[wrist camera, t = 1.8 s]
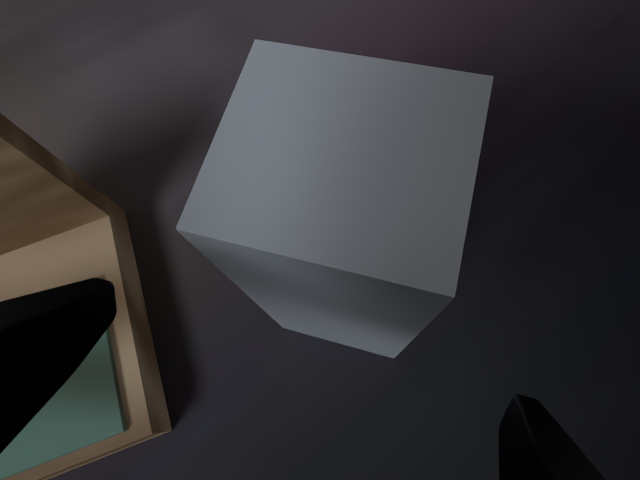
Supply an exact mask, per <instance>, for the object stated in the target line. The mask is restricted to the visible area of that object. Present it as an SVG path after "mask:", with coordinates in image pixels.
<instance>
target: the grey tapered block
mask: <svg viewBox="0 0 640 480" xmlns="http://www.w3.org/2000/svg"><path fill="white" fill-rule="evenodd" d="M493 77H494V76H489V75H482V74H476V73H469V72H463V71H456V70H450V69H444V68H437V67H431V66H424V65H418V64H411V63H405V62H398V61H392V60H385V59H379V58H373V57H366V56H360V55H353V54H347V53H340V52H334V51H327V50H321V49H314V48H308V47H301V46H295V45H289V44H282V43H276V42H269V41H263V40H256V39H255V41H254V43H253V46H252V48H251V51H250V53H249V55H248V58H247V60H246V63H245V65H244V67H243V70H242V72H241V74H240V77H239V79H238V82H237V84H236V86H235V89H234V91H233V93H232V96H231V98H230V101H229V103H228V105H227V108H226V110H225V113H224V115H223V117H222V120H221V122H220V124H219V127H218V129H217V132H216V134H215V136H214V139H213V141H212V143H211V146H210V148H209V151H208V153H207V155H206V158H205V160H204V162H203V165H202V167H201V170H200V172H199V174H198V177H197V179H196V182H195V184H194V186H193V189H192V191H191V193H190V196H189V198H188V201H187V203H186V205H185V208H184V210H183V212H182V215H181V217H180V220H179V222H178V224H177V227H176V230H177V231H178V232H179V233H180V234H181V235H182V236H184V237H185V238H186V239H187V240H188V241H189V242H190V243H191V244H192V245H193V246H194V247H196V248H197V249H198V250H199V251H200V252H201V253H202V254H203V255H204V256H205V257H206V258H208V259H209V260H210V261H211V262H212V263H213V264H214V265H215V266H216V267H217V268H218V269H220V270H221V271H222V272H223V273H224V274H225V275H226V276H227V277H228V278H229V279H230V280H231V281H233V282H234V283H235V284H236V285H237V286H238V287H239V288H240V289H241V290H242V291H243V292H245V293H246V294H247V295H248V296H249V297H250V298H251V299H252V300H253V301H254V302H255V303H257V304H258V305H259V306H260V307H261V308H262V309H263V310H264V311H265V312H266V313H267V314H269V315H270V316H271V317H272V318H273V319H274V320H275V321H276V322H277V323H278V324H279V325H281V326H282V327H283V328H286V329H289V330H293V331H296V332H300V333H304V334H307V335H311V336H314V337H318V338H322V339H325V340H329V341H333V342H336V343H340V344H343V345H347V346H351V347H354V348H358V349H361V350H365V351H369V352H372V353H376V354H380V355H383V356H387V357H390V358H395V357H396V356H397V355H398V354H399V353H400V352H401V351H402V350H403V349H404V348H405V347H406V346H407V345H408V344H409V343H410V342H411V341H412V340H413V339H414V338H415V337H416V336H417V335H418V334H419V333H420V332H421V331H422V330H423V329H424V328H425V327H426V326H427V325H428V324H429V323H430V322H431V321H432V320H433V319H434V318H435V317H436V316H437V315H438V314H439V313H440V312H441V311H442V310H443V309H444V308H445V307H446V306H447V305H448V304H449V303H450V302H451V301H452V300H453V299H454V298H455V293H456V287H457V281H458V276H459V270H460V264H461V259H462V253H463V247H464V242H465V236H466V230H467V225H468V219H469V213H470V208H471V202H472V196H473V191H474V185H475V179H476V174H477V168H478V162H479V157H480V151H481V145H482V139H483V134H484V128H485V122H486V117H487V111H488V105H489V100H490V94H491V88H492V83H493Z"/></svg>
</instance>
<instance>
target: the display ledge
mask: <svg viewBox="0 0 640 480" xmlns="http://www.w3.org/2000/svg"><path fill="white" fill-rule="evenodd" d="M90 278H101V279H104V280H108V281H110V282H112V283H113V285H114V288H115V297H116V306H117V313H116V317H115V319H114V321H113V322H112V323H111V325H110V326H109V327H108V329H107V330H106V331H105V333H104V334H103V335H102V337H101V338H100V339H99V341H98V342H97V343H96V345H95V346H94V347H93V349H92V350H91V351H90V353H89V354H88V355H87V357H86V358H85V359H84V361H83V362H82V363H81V365H80V366H79V367H78V368H77V370H76V371H75V372H74V373H73V375H72V376H71V377H70V378H69V379H68V380H67V381H66V383H65V384H64V385H63V386H62V387H61V388H60V389H59V390H58V391H57V392H56V394H55V395H54V396H53V397H52V398H51V399H50V400H49V401H48V402H47V403H46V404H45V406H44V407H43V408H42V409H41V410H40V411H39V412H38V413H37V414H36V415H35V417H34V418H33V419H32V420H31V421H30V422H29V423H28V424H27V425H26V426H25V428H24V429H23V430H22V431H21V432H20V433H19V434H18V435H17V436H16V437H15V438H14V440H13V441H12V442H11V443H10V444H9V445H8V446H7V447H6V448H5V449H4V451H3V452H2V453H1V454H0V480H47V479H50V478H52V477H55V476H57V475H60V474H63V473H65V472H68V471H70V470H73V469H75V468H78V467H80V466H83V465H85V464H88V463H91V462H93V461H96V460H98V459H101V458H103V457H106V456H108V455H111V454H113V453H116V452H119V451H121V450H124V449H126V448H129V447H131V446H134V445H136V444H139V443H141V442H144V441H146V440H149V439H152V438H154V437H157V436H159V435H162V434H164V433H167V432H169V431H172V428H171V423H170V419H169V414H168V409H167V405H166V400H165V395H164V391H163V386H162V381H161V377H160V372H159V367H158V363H157V358H156V353H155V349H154V344H153V339H152V335H151V330H150V325H149V320H148V316H147V311H146V306H145V302H144V297H143V292H142V288H141V283H140V278H139V274H138V269H137V264H136V260H135V255H134V250H133V246H132V241H131V236H130V232H129V227H128V222H127V218H126V213H125V210H124V209H122V208H121V207H120V206H119V205H117V204H116V203H115V202H114V201H112V200H111V199H110V198H109V197H107V196H106V195H103V194H102V193H101V192H99V191H98V190H97V189H96V188H94V187H93V186H92V185H91V184H89V183H88V182H87V181H86V180H84V179H83V178H82V177H80V176H79V175H78V174H77V173H75V172H74V171H73V170H72V169H70V168H69V167H68V166H67V165H65V164H64V163H63V162H62V161H60V160H59V159H58V158H56V157H55V156H54V155H53V154H51V153H50V152H49V151H48V150H46V149H45V148H44V147H43V146H41V145H40V144H39V143H38V142H36V141H35V140H34V139H32V138H31V137H30V136H29V135H27V134H26V133H25V132H24V131H22V130H21V129H20V128H19V127H17V126H16V125H15V124H14V123H12V122H11V121H10V120H8V119H7V118H6V117H5V116H3V115H2V114H1V113H0V301H4V300H8V299H12V298H16V297H20V296H24V295H28V294H32V293H36V292H39V291H43V290H47V289H51V288H55V287H59V286H63V285H67V284H71V283H75V282H79V281H82V280H86V279H90Z"/></svg>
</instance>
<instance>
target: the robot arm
mask: <svg viewBox="0 0 640 480" xmlns="http://www.w3.org/2000/svg"><path fill="white" fill-rule="evenodd" d="M116 313H117V306H116V297H115V288H114V285H113V283H112V282H110V281H108V280H104V279H101V278H90V279H86V280H82V281H79V282H75V283H71V284H67V285H63V286H59V287H55V288H51V289H47V290H43V291H39V292H36V293H32V294H28V295H24V296H20V297H16V298H12V299H8V300H4V301H0V454H1V453H2V452H3V451H4V449H5V448H6V447H7V446H8V445H9V444H10V443H11V442H12V441H13V440H14V438H15V437H16V436H17V435H18V434H19V433H20V432H21V431H22V430H23V429H24V428H25V426H26V425H27V424H28V423H29V422H30V421H31V420H32V419H33V418H34V417H35V415H36V414H37V413H38V412H39V411H40V410H41V409H42V408H43V407H44V406H45V404H46V403H47V402H48V401H49V400H50V399H51V398H52V397H53V396H54V395H55V394H56V392H57V391H58V390H59V389H60V388H61V387H62V386H63V385H64V384H65V383H66V381H67V380H68V379H69V378H70V377H71V376H72V375H73V373H74V372H75V371H76V370H77V368H78V367H79V366H80V365H81V363H82V362H83V361H84V359H85V358H86V357H87V355H88V354H89V353H90V351H91V350H92V349H93V347H94V346H95V345H96V343H97V342H98V341H99V339H100V338H101V337H102V335H103V334H104V333H105V331H106V330H107V329H108V327H109V326H110V325H111V323H112V322H113V321H114V319H115V317H116ZM499 480H606V479H605V478H604V477H603V476H602V475H601V473H600V472H599V471H598V470H597V469H596V468H595V466H594V465H593V464H592V463H591V462H590V460H589V459H588V458H587V457H586V456H585V455H584V453H583V452H582V451H581V450H580V449H579V447H578V446H577V445H576V444H575V443H574V442H573V440H572V439H571V438H570V437H569V436H568V434H567V433H566V432H565V431H564V430H563V429H562V427H561V426H560V425H559V424H558V423H557V421H556V420H555V419H554V418H553V417H552V416H551V414H550V413H549V412H548V411H547V410H546V408H545V407H544V406H543V405H542V404H541V403H540V402H539V401H538V400H537V399H535V398H531V397H528V396H524V395H520V394H516V395H514V396H513V397H512V399H511V401H510V403H509V405H508V408H507V410H506V412H505V414H504V416H503V418H502V420H501V423H500V427H499Z"/></svg>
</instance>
